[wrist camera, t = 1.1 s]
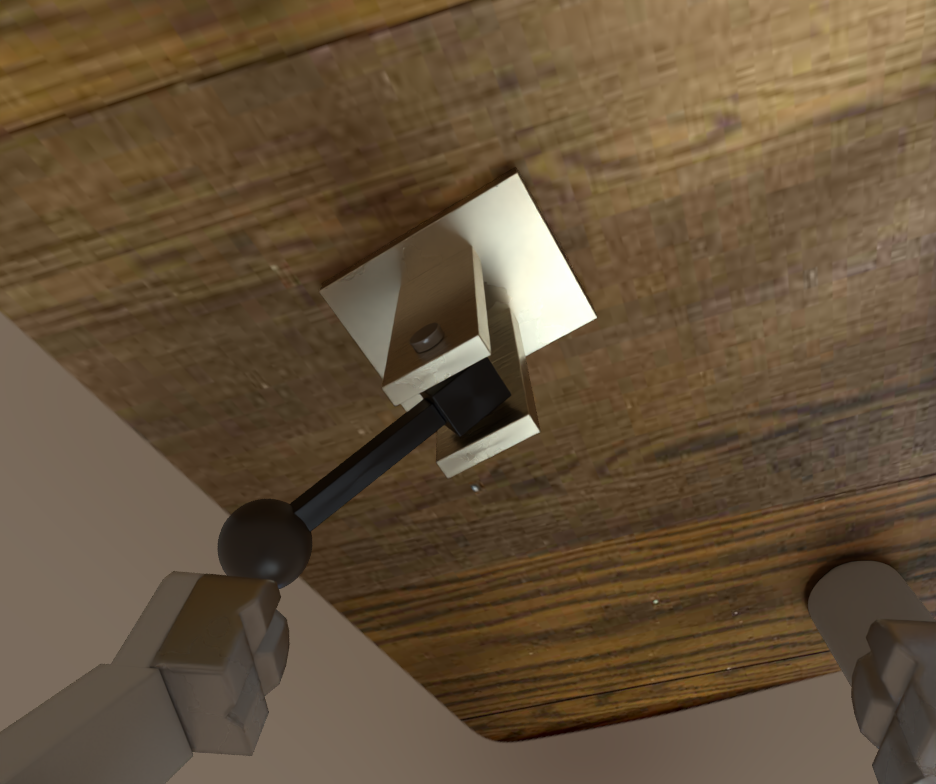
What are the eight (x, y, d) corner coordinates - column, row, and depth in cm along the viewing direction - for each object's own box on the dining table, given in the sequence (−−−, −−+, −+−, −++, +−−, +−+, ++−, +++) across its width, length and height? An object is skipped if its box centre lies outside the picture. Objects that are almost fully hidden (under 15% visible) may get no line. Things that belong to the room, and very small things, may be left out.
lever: (251, 583, 32) (262, 627, 28) (195, 525, 30) (200, 564, 27) (491, 392, 34) (527, 411, 31) (450, 328, 32) (483, 342, 29)
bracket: (411, 408, 44) (397, 549, 33) (321, 283, 40) (270, 394, 29) (594, 310, 41) (648, 426, 30) (515, 166, 38) (543, 238, 26)
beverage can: (794, 624, 53) (880, 782, 42) (814, 553, 50) (911, 703, 39) (884, 623, 53) (993, 780, 42) (909, 552, 50) (1032, 701, 39)
